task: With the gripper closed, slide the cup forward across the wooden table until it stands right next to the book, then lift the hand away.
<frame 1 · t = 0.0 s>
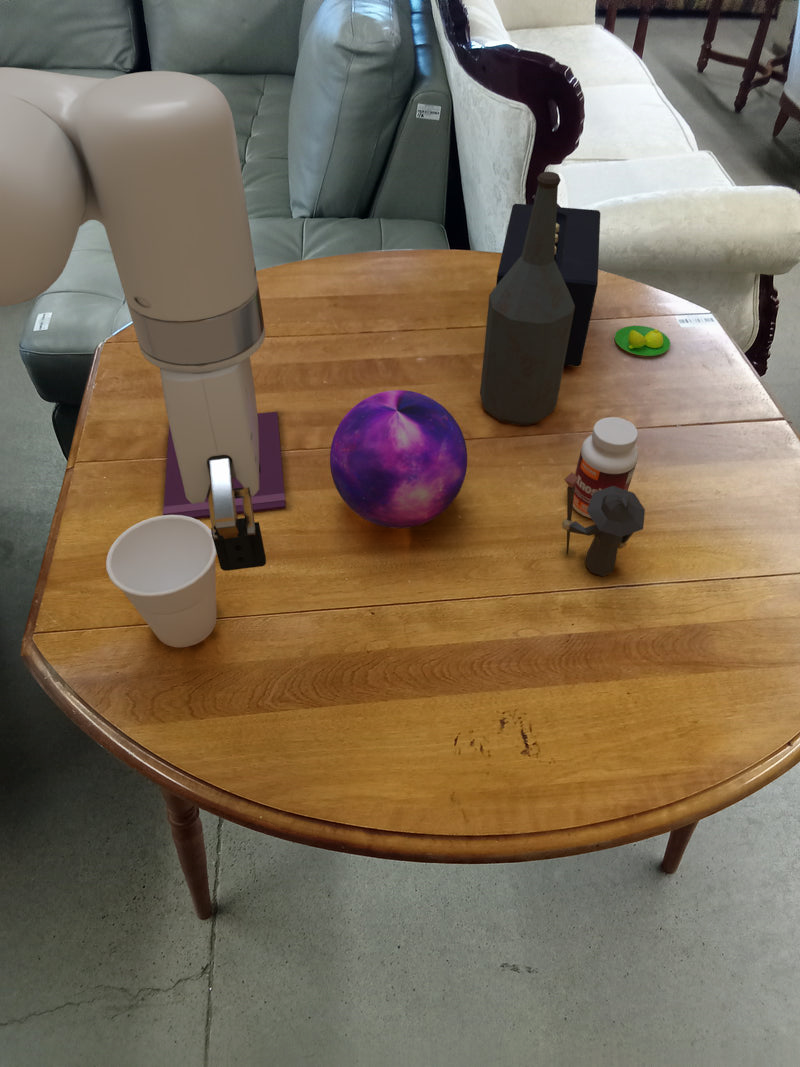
hand: (242, 517, 57), 21 cm above the table, tool pointing down, fingers open, 9 cm apart
bottle: (517, 405, 102), on the table
wizard figurine: (588, 565, 82), on the table
cup: (187, 625, 77), on the table
decorative orb: (398, 509, 88), on the table
pill bottle: (595, 504, 89), on the table
speaker: (538, 331, 114), on the table
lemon: (641, 345, 112), on the table
book: (224, 464, 93), on the table
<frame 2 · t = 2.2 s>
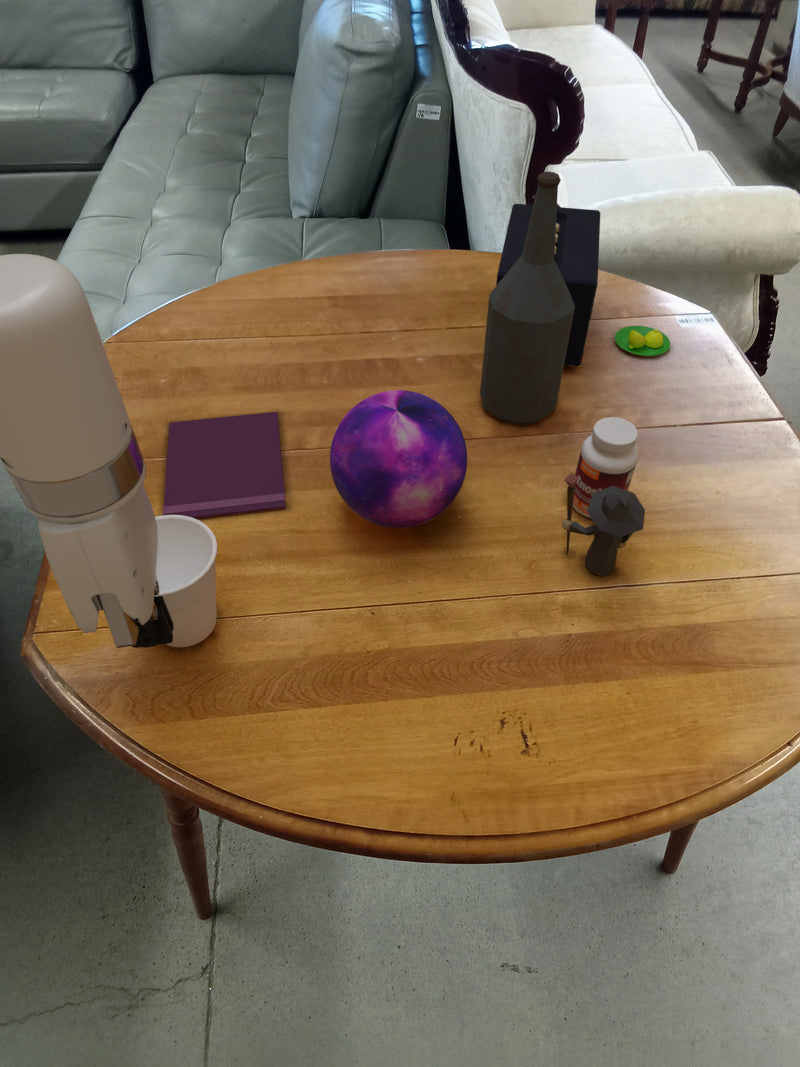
hand: (153, 637, 60), 13 cm above the table, tool pointing down, fingers closed
nothing on the table moved.
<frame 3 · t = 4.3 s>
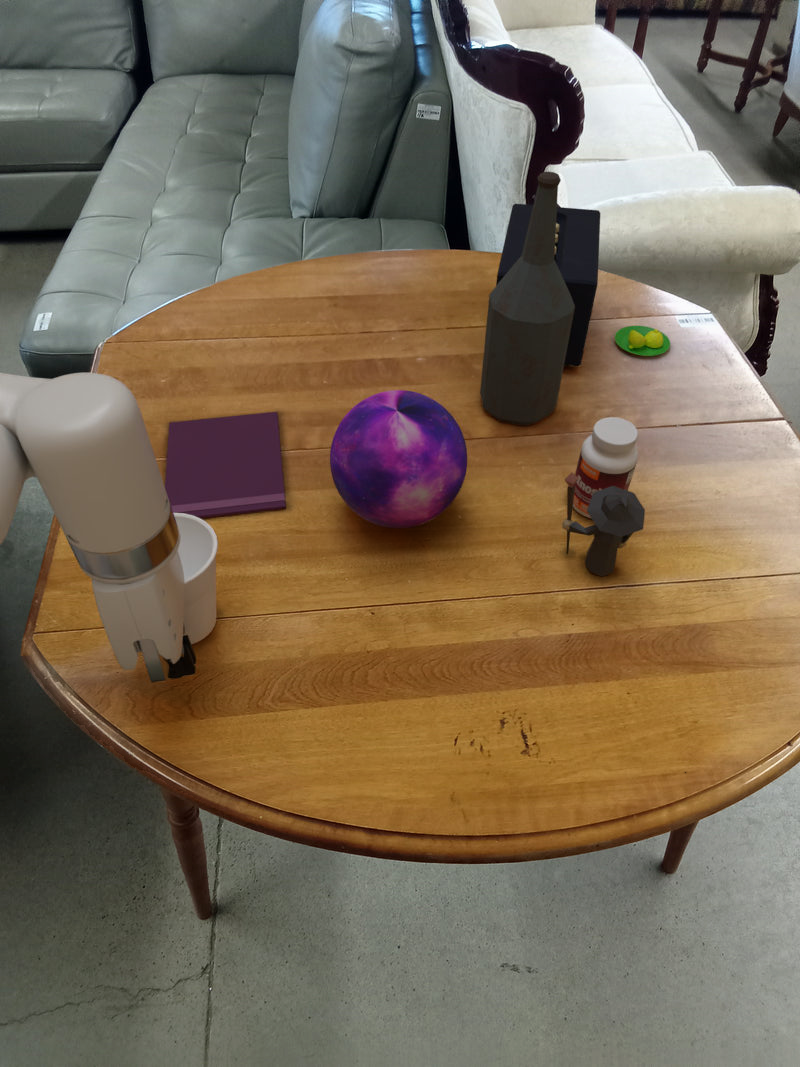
hand: (178, 669, 69), 3 cm above the table, tool pointing down, fingers closed
cup: (186, 625, 77), on the table, touching gripper
everything else where it was.
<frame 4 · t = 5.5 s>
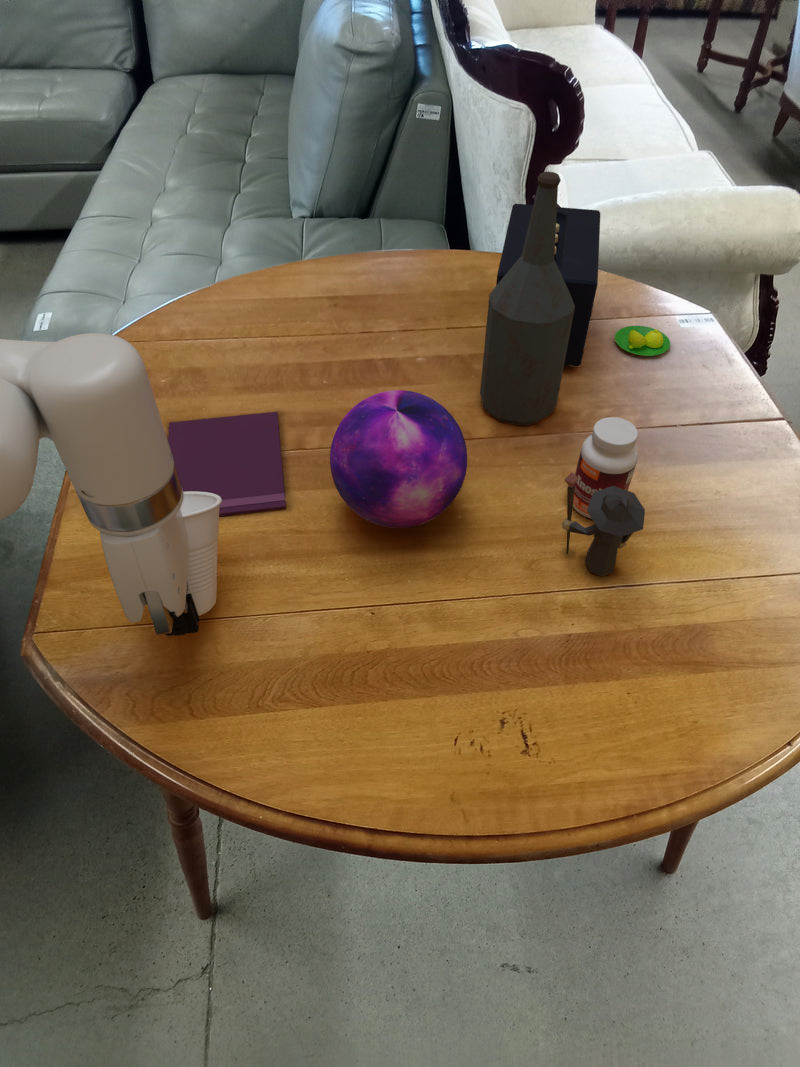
hand: (182, 627, 72), 3 cm above the table, tool pointing down, fingers closed
cup: (185, 610, 76), point 1 cm above the table, touching gripper
everything else where it was.
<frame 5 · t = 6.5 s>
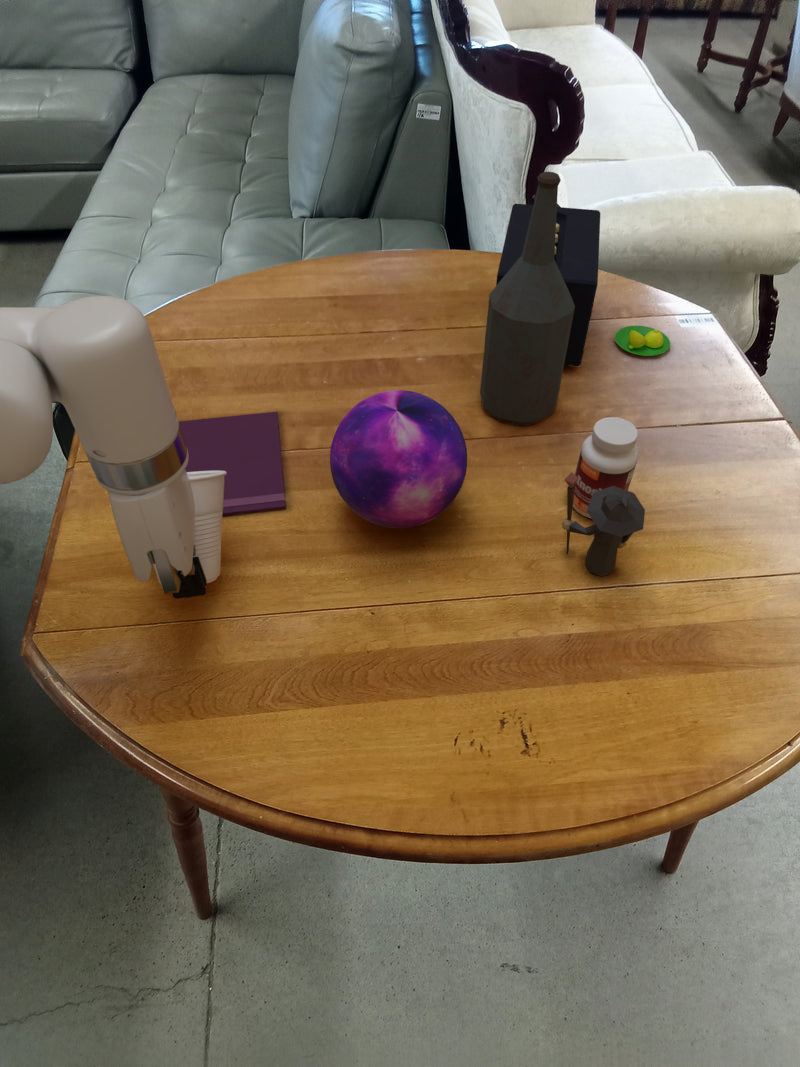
hand: (190, 590, 74), 4 cm above the table, tool pointing down, fingers closed
cup: (190, 583, 78), point 2 cm above the table, touching gripper
everything else where it was.
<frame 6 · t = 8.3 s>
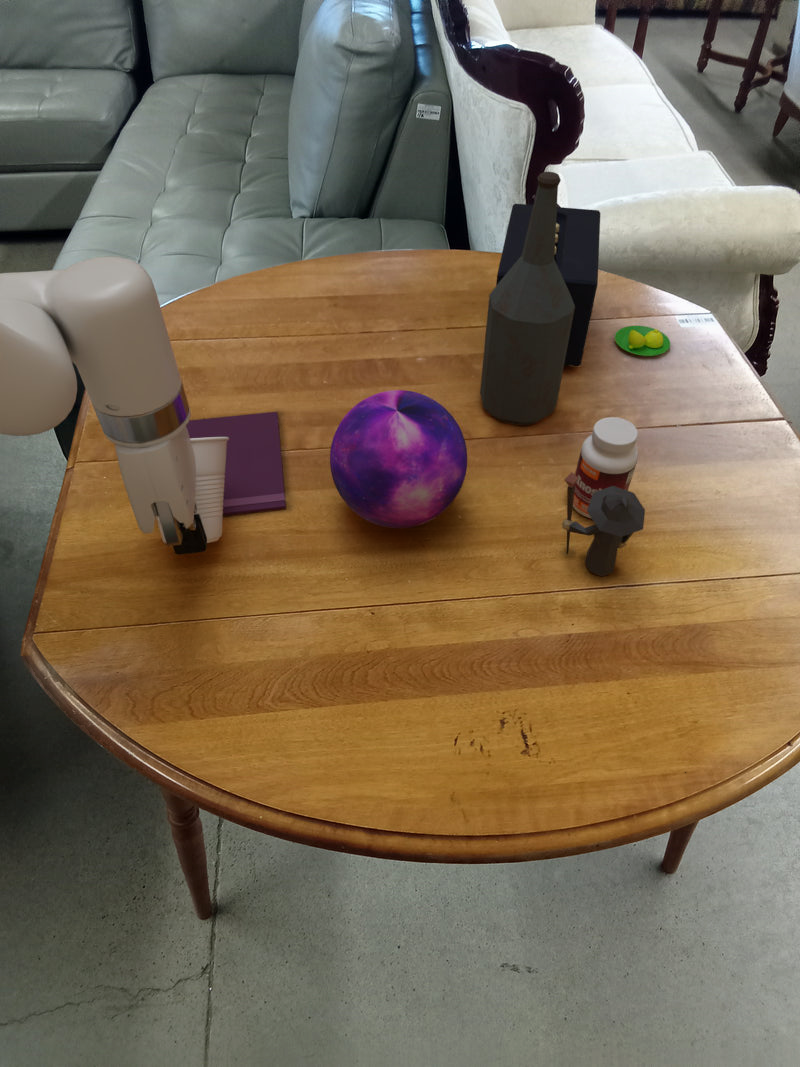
hand: (191, 547, 78), 4 cm above the table, tool pointing down, fingers closed
cup: (193, 544, 82), point 2 cm above the table, touching gripper
everything else where it was.
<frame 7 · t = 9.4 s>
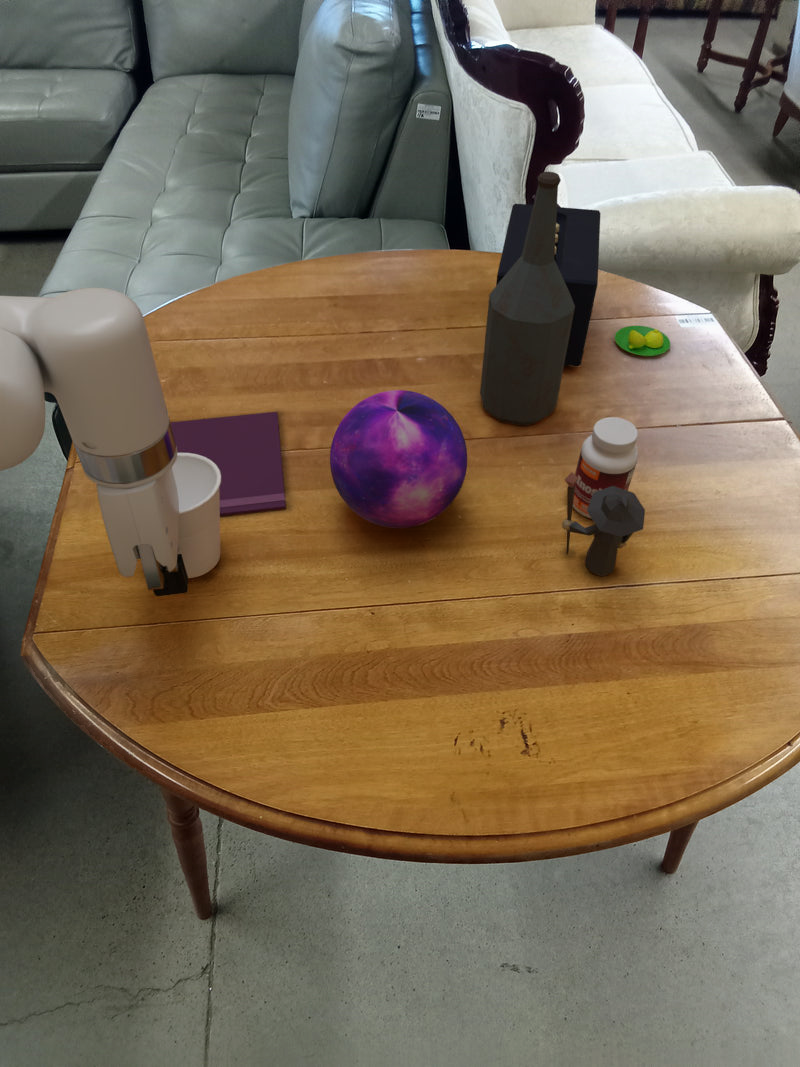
hand: (172, 588, 74), 5 cm above the table, tool pointing down, fingers closed
cup: (193, 561, 83), on the table, touching gripper
everything else where it was.
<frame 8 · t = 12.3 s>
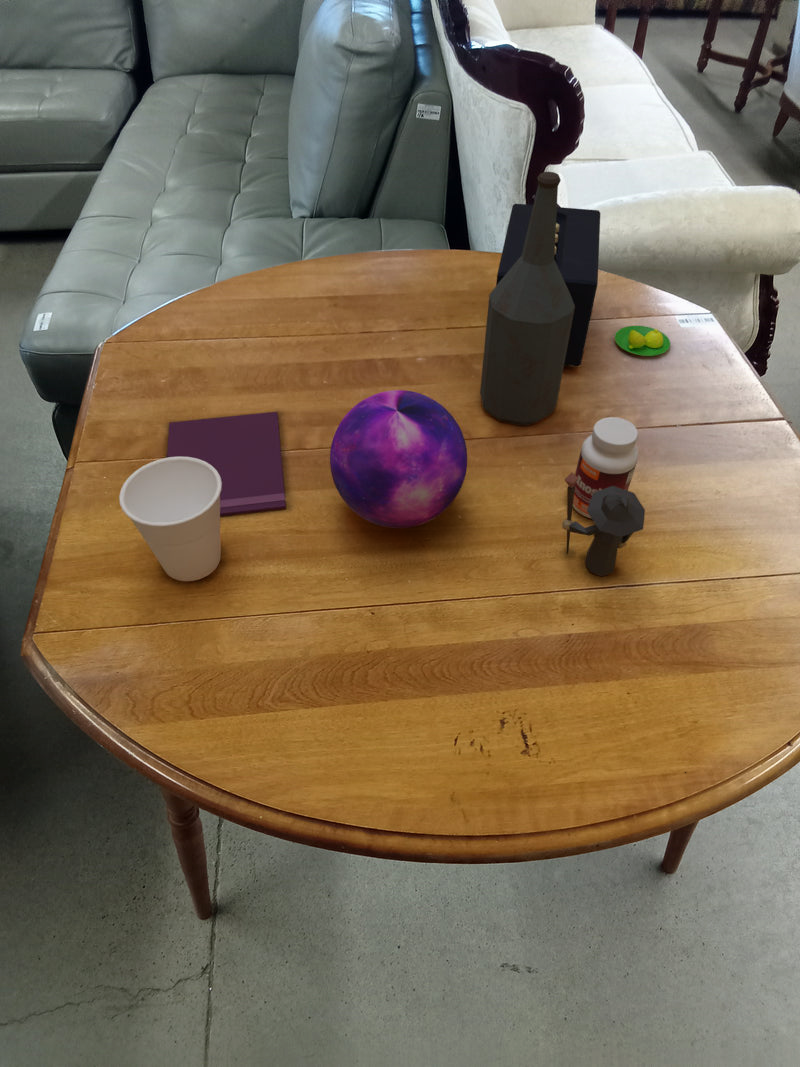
cup: (193, 563, 83), on the table
everything else where it was.
at the end: cup inside the target area on the table beside the book (1.7 cm from its centre), on the table; cup tilted 0°; cup moved 8.5 cm from its start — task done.
